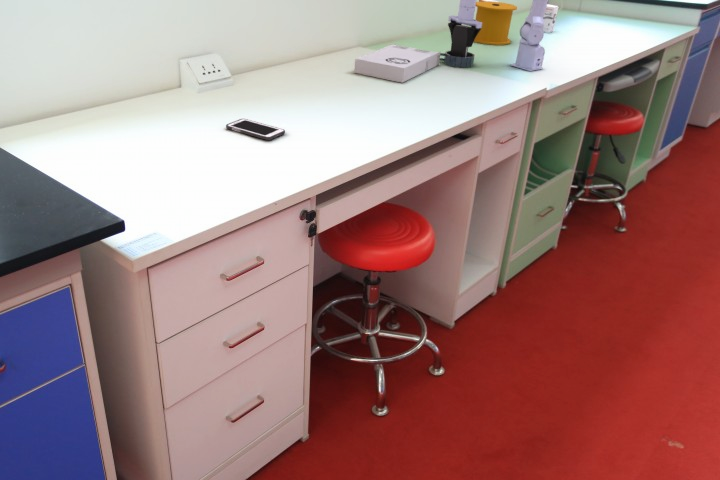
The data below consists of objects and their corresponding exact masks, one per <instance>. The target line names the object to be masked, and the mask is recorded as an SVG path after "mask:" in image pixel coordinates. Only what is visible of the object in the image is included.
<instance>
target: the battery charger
mask: <svg viewBox="0 0 720 480" xmlns="http://www.w3.org/2000/svg"><path fill="white" fill-rule="evenodd" d="M467 27H469V26H468V25H464V24H462V25H457V26H455V27H454V30H453V35H452V41H451V46H450V51H451V52H450V55H452V56H456V57H467V56H468V54H467V53H468V52H469V47H467V37H468V34H467Z"/></svg>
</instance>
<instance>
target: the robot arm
mask: <svg viewBox="0 0 720 480" xmlns="http://www.w3.org/2000/svg"><path fill="white" fill-rule="evenodd" d="M476 2H477V0H459V6H458V13H457V15H453V14H451V15H448V22H447V26H448V29H449V32H450V38H451V42H452V35H453V30H454V27H455V26H457V25H464V26H468V27H467V34H468V37H467V47H468V48H472V47H473V44H474V43H475V42H474V40H475V38H476V36H477V34H478V33H479V32H480V30H481V27H482V22H479V21H476V19H474V17H475V10H476V6H475V5H476ZM548 2H549V0H532V3H531V5H530V10H529V13H528V15H527V16H526V18H525V20H524V22H523V24H522V25H521V27H520V28H519V36H520V37H521V38H520V40H519V44H518V49H517V54H516V58H515V63H510V66H511V67H515V68H518V69H521V70H525V71H528V72H533V71H539V70H542V69H543V63H544V58H545V53H546V50H545V47H544V46H543V45H542V46H541V45H540V43H541V42H542V40H543V39H544V36H545V32H543V27H544V21H543V17H544V13H545V9H546V6H547V4H548Z"/></svg>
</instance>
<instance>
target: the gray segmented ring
mask: <svg viewBox="0 0 720 480" xmlns="http://www.w3.org/2000/svg"><path fill="white" fill-rule="evenodd" d="M450 52H451V50H447V51H445V52H441V54H440V60H439V62H443V64H444V65H445V66H448V67H452V68H459V69H460V68H461V69H468V68H472V67H474V63H475V62H474V60H475V56H476V54H475V53H472V52H471V51H468V53H467V54H468V56H467V57H456V56H452V55H450ZM441 56H442V57H444V58H442V57H441Z"/></svg>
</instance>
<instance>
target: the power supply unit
mask: <svg viewBox="0 0 720 480" xmlns="http://www.w3.org/2000/svg"><path fill="white" fill-rule="evenodd" d="M441 53H442V52H441V51H431V50H425V49H420V48H414V47H410V46H403V45H399V44H398V45H397V44H396V43H393V44H390V45H387V46H385V47H381V48H380V49H377V50H373V51H371V52H368V53H366V54H363V55H361V56H358V57H355V59H354V68H353V69H354V71H353V73H354V74H358V75H364V76H368V77H372V78H378V79H383V80H388V81H392V82H397V83H402V84H403V83H405V82H407V81H408V80H411V79H413V78H415V77H417V76H419V75H422V74H423V73H425V72H427V71H430V70H431V69H433V68H435V67H437V66H439V65H440V61H439V60H440V58H441V56H440V54H441Z"/></svg>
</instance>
